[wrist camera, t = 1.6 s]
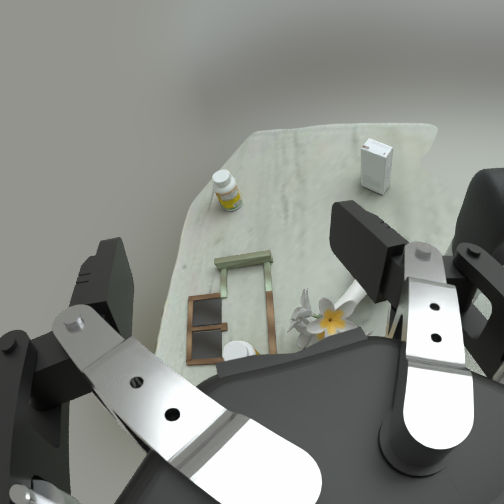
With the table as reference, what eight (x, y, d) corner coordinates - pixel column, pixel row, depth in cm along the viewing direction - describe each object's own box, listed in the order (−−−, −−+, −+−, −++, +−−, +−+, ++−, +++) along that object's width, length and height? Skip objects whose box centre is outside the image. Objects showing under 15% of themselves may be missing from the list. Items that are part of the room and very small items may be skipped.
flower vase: (357, 278, 67) (281, 360, 56) (361, 207, 55) (267, 293, 44) (409, 304, 59) (339, 399, 48) (426, 232, 47) (345, 341, 36)
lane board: (281, 379, 54) (279, 377, 51) (187, 385, 57) (180, 382, 54) (272, 257, 67) (269, 249, 64) (191, 269, 70) (185, 263, 67)
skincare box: (390, 184, 70) (395, 146, 59) (382, 197, 68) (387, 158, 58) (367, 174, 72) (369, 136, 62) (359, 186, 71) (360, 148, 61)
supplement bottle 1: (242, 210, 75) (231, 183, 67) (220, 212, 76) (207, 186, 68) (244, 193, 78) (233, 165, 70) (223, 195, 79) (211, 169, 71)
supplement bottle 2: (265, 375, 55) (253, 365, 47) (236, 380, 55) (220, 371, 47) (261, 347, 58) (248, 333, 49) (233, 353, 58) (216, 339, 50)
